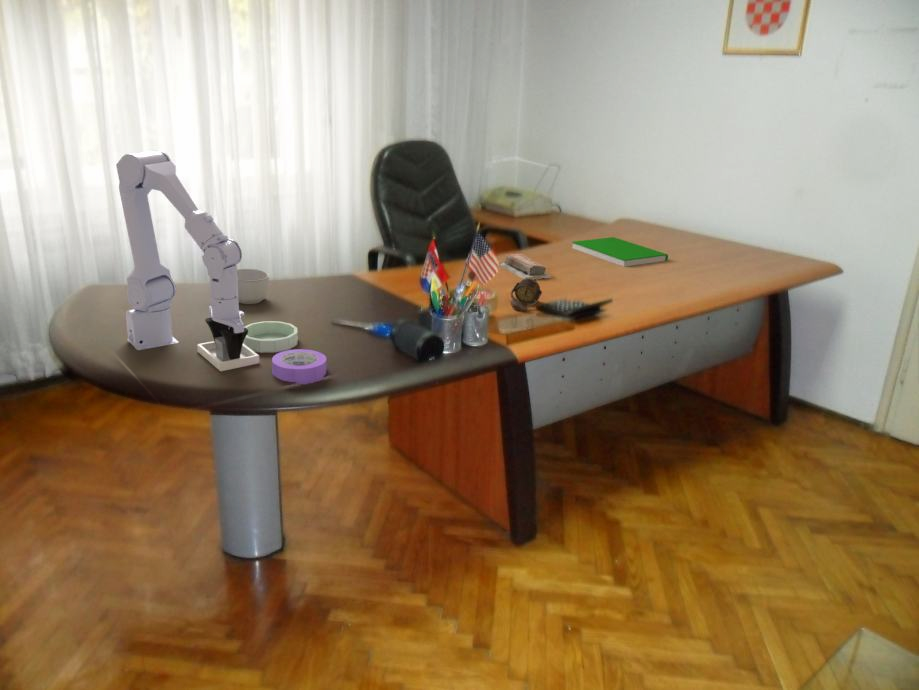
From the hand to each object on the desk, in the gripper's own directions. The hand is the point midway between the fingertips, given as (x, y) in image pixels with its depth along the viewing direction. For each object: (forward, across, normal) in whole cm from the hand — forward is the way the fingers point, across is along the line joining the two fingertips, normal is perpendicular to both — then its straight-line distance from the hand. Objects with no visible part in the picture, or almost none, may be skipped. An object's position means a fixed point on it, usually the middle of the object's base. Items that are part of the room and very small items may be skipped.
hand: (228, 353), depth 171 cm
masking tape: (+2, -15, -10) cm, 18 cm away
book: (+2, +23, -162) cm, 164 cm away
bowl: (+2, +4, -12) cm, 13 cm away
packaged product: (+2, +22, -113) cm, 115 cm away
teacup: (+2, +36, -20) cm, 41 cm away
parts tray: (+2, 0, 0) cm, 2 cm away
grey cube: (+1, 0, 0) cm, 1 cm away
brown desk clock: (+2, -3, -88) cm, 88 cm away
